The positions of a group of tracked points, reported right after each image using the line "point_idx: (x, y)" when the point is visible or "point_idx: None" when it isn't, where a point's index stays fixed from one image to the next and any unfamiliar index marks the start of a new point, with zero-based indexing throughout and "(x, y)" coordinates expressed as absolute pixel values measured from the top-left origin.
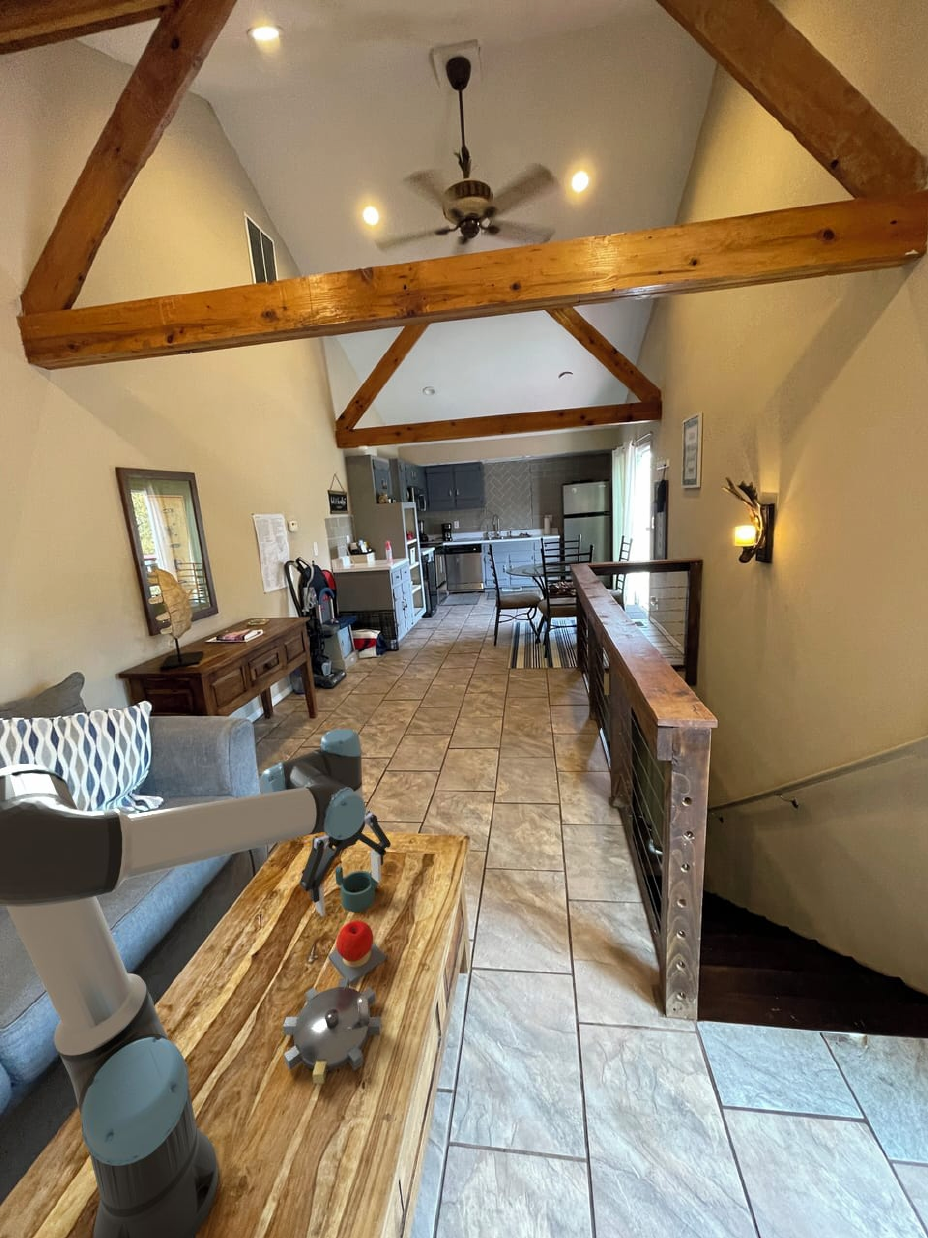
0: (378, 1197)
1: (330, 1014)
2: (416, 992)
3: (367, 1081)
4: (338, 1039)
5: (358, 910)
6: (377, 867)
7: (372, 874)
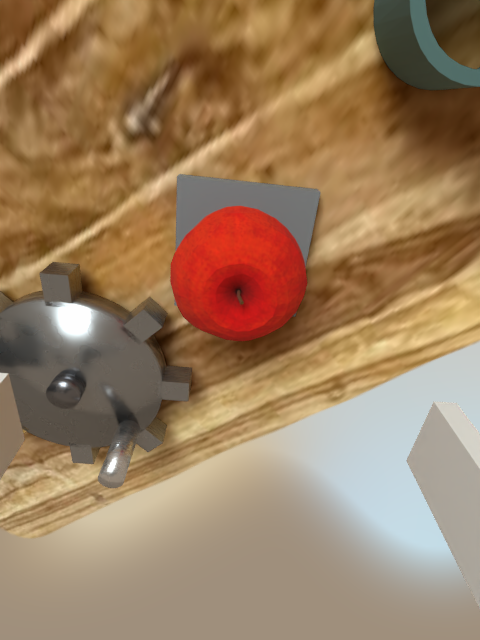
0: (44, 532)
1: (61, 393)
2: (273, 414)
3: (98, 453)
4: (65, 417)
5: (395, 71)
6: (468, 580)
7: (444, 430)
